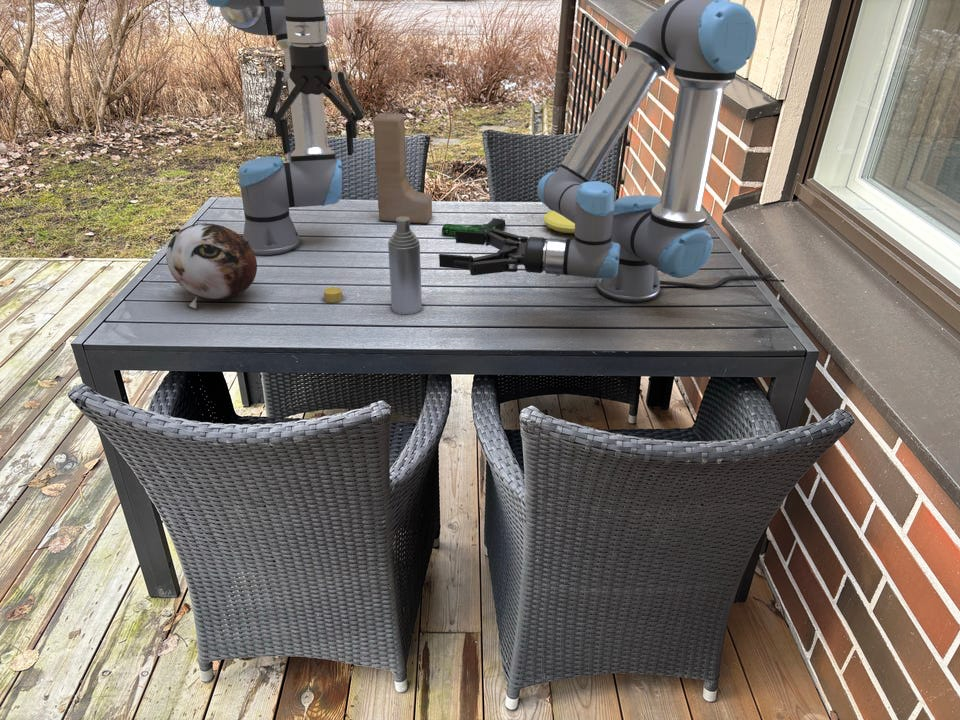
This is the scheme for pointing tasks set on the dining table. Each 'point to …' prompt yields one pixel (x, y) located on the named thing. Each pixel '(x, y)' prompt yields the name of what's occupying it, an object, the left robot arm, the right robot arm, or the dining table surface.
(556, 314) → the dining table surface
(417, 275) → the bottle
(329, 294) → the cap
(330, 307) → the dining table surface
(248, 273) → the cat face ball
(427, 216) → the decorative block
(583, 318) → the dining table surface
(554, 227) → the yellow pot lid
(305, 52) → the left robot arm
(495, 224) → the handgun
